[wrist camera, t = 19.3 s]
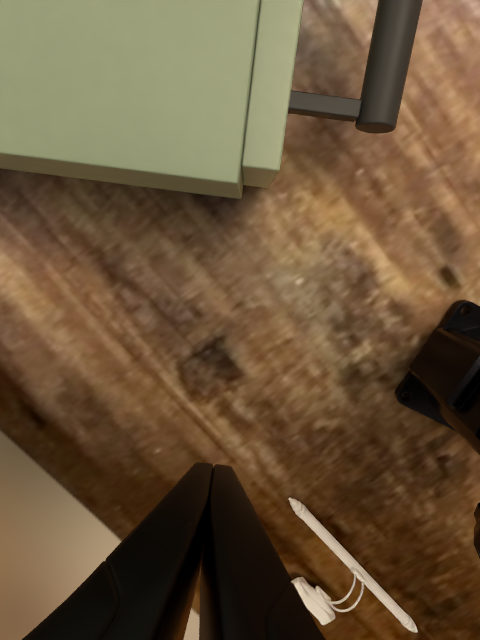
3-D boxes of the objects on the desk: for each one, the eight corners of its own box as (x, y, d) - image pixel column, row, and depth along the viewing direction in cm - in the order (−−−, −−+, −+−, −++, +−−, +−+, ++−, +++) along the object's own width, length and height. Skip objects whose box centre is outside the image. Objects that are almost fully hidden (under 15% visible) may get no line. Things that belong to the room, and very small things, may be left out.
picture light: (418, 623, 25) (433, 658, 23) (366, 652, 26) (376, 688, 24) (293, 490, 23) (297, 517, 21) (239, 527, 24) (238, 556, 22)
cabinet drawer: (406, -72, 15) (518, -276, 9) (353, 199, 17) (411, 188, 11) (-10, -131, 14) (-195, -384, 8) (2, 154, 17) (-131, 117, 11)
